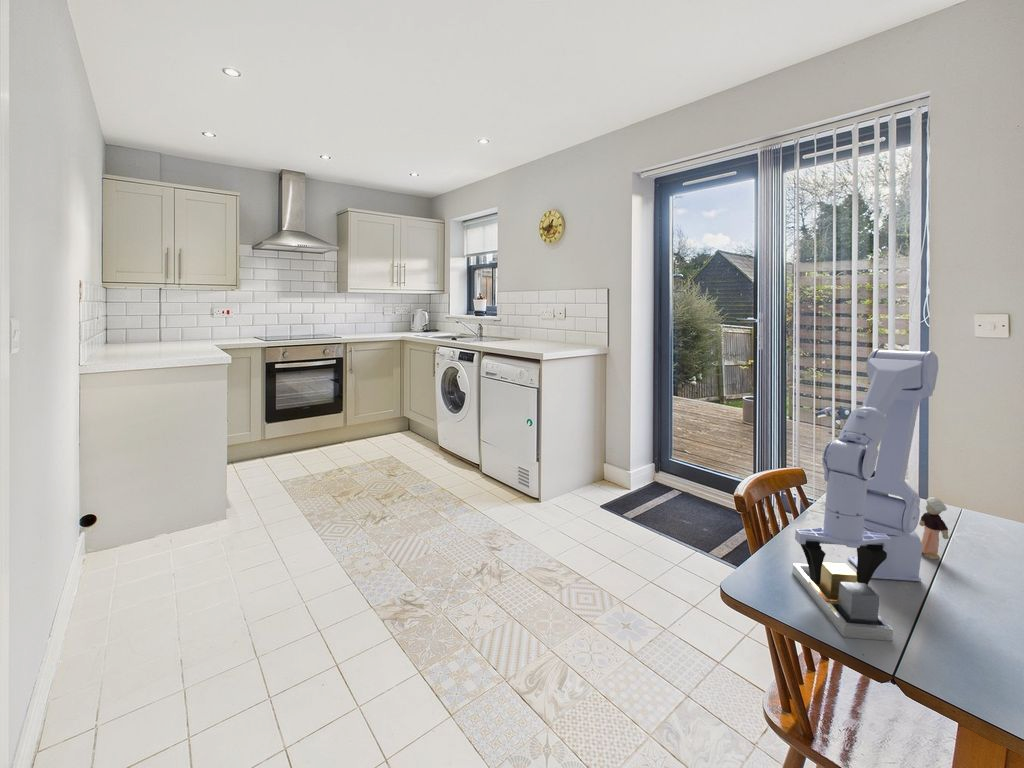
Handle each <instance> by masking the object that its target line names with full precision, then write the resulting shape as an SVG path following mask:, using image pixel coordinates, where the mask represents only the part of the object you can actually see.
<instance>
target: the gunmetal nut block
mask: <svg viewBox="0 0 1024 768" xmlns="http://www.w3.org/2000/svg"><path fill="white" fill-rule="evenodd" d="M880 599H881V597H880V595H878V593H877V592H875V591H874V590H873V589H872V588H871V587H870V586H869V584H868V585H867V584H866V583H858V582H857V583H852V582H840V585H839V596H838V607H837V611H838V613H839V614H840V615H841V616H842V617H843V619H844V620H845V621H846V622H847V623H854V624H866V625H877V620H878V614H879V607H880Z"/></svg>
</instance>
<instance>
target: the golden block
mask: <svg viewBox="0 0 1024 768" xmlns="http://www.w3.org/2000/svg"><path fill="white" fill-rule="evenodd" d="M856 573H857V572H855V571H853V569H852V568H850V566H848V565H847V564H846V563H837V562H824V561H823V563H822V567H821V580H820V584H819V589H820V590H821V591H822V593H823V594H824V595H825V596H826V597H827V598H828V599H835V600H838V596H839V585H840V582H852V583H858V582H857V574H856Z"/></svg>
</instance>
